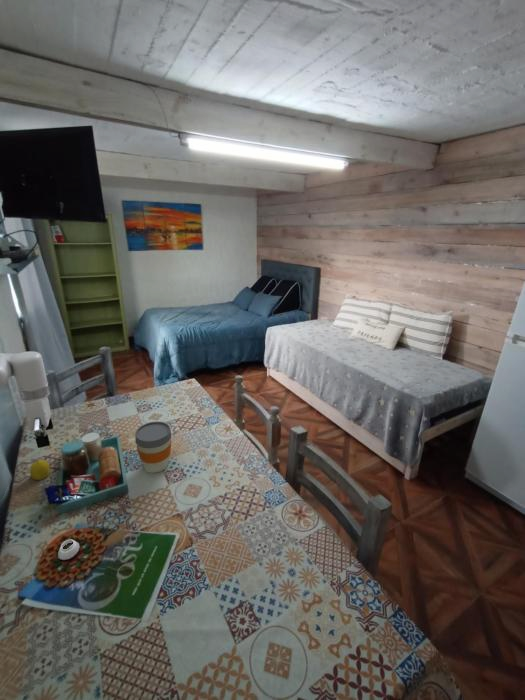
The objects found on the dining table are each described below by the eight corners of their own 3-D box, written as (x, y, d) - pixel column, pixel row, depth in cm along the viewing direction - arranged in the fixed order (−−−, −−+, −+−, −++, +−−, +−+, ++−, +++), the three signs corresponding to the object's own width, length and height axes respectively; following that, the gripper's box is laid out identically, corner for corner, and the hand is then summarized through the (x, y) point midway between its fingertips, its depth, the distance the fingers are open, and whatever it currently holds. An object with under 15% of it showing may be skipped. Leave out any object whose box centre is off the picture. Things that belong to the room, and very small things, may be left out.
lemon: (55, 477, 111) (50, 459, 108) (38, 487, 107) (33, 468, 104) (46, 471, 114) (42, 453, 111) (29, 481, 109) (24, 462, 107)
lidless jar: (77, 540, 90) (57, 550, 87) (75, 532, 89) (54, 542, 86) (81, 553, 86) (60, 564, 83) (79, 545, 85) (58, 556, 82)
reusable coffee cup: (131, 471, 115) (126, 437, 110) (152, 450, 127) (148, 418, 121) (161, 479, 112) (157, 445, 107) (180, 457, 123) (177, 424, 118)
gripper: (25, 381, 103) (36, 426, 109) (13, 407, 88) (27, 457, 94) (52, 377, 106) (61, 421, 112) (45, 402, 92) (56, 450, 98)
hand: (46, 437), depth 103 cm, fingers open, 9 cm apart
